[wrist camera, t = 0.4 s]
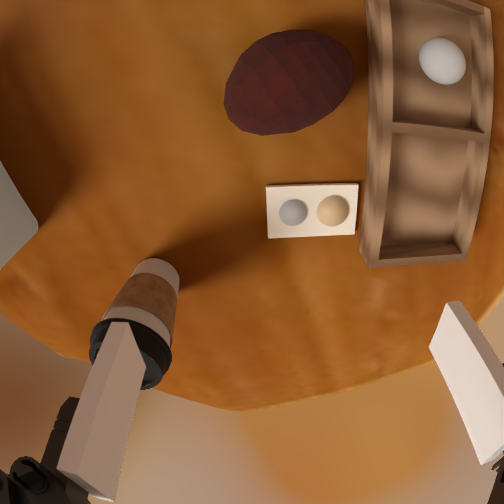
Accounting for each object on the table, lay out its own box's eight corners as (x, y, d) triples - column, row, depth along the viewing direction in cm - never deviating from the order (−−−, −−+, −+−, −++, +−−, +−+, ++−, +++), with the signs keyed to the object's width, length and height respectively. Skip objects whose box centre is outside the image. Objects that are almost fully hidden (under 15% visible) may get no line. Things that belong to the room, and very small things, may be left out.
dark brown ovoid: (353, 88, 28) (390, 93, 20) (255, 147, 32) (258, 172, 24) (307, 17, 25) (329, -4, 17) (204, 79, 28) (188, 79, 20)
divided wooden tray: (363, -16, 22) (376, -26, 19) (470, 11, 22) (490, 9, 19) (358, 250, 38) (368, 267, 34) (451, 244, 38) (466, 260, 34)
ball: (409, 35, 24) (434, 31, 20) (448, 44, 24) (474, 43, 20) (410, 79, 27) (435, 81, 22) (448, 86, 26) (475, 90, 22)
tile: (265, 185, 34) (266, 188, 33) (356, 183, 34) (359, 185, 33) (267, 236, 37) (268, 239, 36) (353, 231, 37) (354, 235, 36)
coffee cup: (200, 266, 39) (180, 362, 26) (175, 312, 42) (153, 405, 29) (137, 237, 37) (88, 323, 24) (118, 287, 40) (78, 374, 27)
